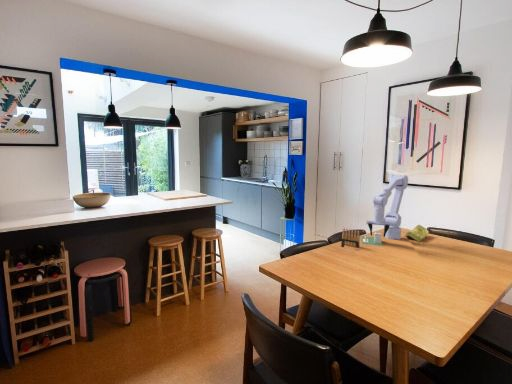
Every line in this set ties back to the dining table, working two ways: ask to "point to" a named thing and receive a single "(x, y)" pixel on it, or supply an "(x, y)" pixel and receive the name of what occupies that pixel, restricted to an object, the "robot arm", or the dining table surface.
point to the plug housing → (377, 238)
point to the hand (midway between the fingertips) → (377, 235)
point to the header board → (369, 241)
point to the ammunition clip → (350, 238)
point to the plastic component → (418, 233)
